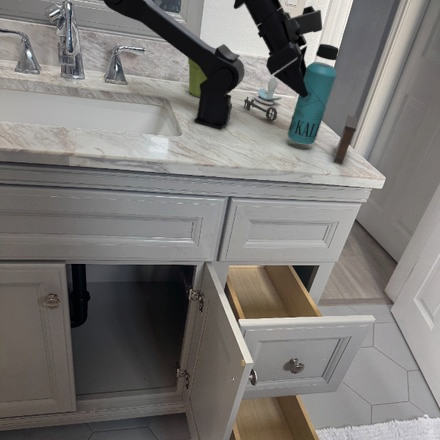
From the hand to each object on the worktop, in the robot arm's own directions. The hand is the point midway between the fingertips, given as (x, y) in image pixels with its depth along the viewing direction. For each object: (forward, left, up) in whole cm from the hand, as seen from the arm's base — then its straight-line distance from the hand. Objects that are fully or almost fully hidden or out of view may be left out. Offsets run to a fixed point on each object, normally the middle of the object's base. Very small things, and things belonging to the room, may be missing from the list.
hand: (307, 91), depth 87 cm
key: (-11, +14, -11) cm, 21 cm away
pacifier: (-12, +28, -11) cm, 33 cm away
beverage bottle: (+2, 0, -11) cm, 11 cm away
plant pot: (-28, +18, -11) cm, 35 cm away
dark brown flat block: (+11, 0, -11) cm, 16 cm away
